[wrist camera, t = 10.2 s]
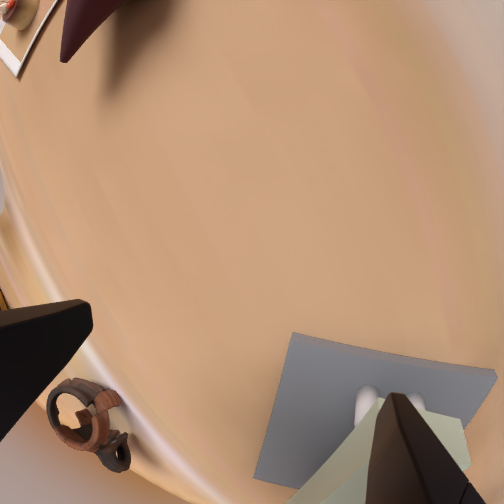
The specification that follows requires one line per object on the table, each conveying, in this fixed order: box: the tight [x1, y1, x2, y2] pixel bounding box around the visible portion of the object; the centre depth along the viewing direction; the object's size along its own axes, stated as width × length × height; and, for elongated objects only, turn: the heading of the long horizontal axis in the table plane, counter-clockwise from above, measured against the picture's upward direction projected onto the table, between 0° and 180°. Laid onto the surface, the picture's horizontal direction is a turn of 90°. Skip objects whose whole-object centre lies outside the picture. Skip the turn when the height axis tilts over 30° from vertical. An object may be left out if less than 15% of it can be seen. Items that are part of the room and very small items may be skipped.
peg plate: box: [253, 332, 498, 489], centre depth 20 cm, size 16×18×4 cm
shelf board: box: [285, 397, 471, 504], centre depth 16 cm, size 6×16×4 cm, turn 164°
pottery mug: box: [46, 378, 131, 473], centre depth 28 cm, size 12×10×8 cm
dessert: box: [0, 0, 58, 77], centre depth 18 cm, size 12×12×5 cm
